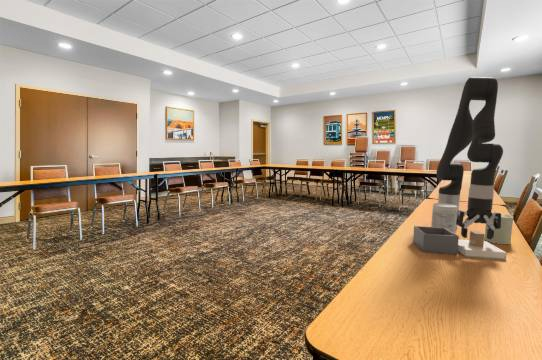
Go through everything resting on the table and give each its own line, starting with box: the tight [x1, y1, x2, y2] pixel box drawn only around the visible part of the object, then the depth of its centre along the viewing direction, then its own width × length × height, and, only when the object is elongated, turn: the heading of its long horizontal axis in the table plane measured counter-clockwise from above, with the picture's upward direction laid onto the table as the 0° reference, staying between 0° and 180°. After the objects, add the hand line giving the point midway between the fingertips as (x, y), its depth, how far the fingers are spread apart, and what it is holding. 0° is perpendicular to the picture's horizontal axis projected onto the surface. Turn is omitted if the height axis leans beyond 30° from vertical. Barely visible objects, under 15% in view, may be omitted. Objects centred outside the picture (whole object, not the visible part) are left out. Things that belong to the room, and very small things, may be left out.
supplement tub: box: [430, 202, 457, 234], centre depth 128 cm, size 10×10×15 cm
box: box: [412, 225, 460, 255], centre depth 113 cm, size 12×12×7 cm
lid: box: [457, 230, 507, 260], centre depth 109 cm, size 13×13×7 cm
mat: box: [457, 251, 507, 261], centre depth 109 cm, size 14×13×1 cm
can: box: [484, 213, 514, 245], centre depth 122 cm, size 9×9×12 cm
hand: (476, 238), depth 109 cm, fingers open, 8 cm apart
